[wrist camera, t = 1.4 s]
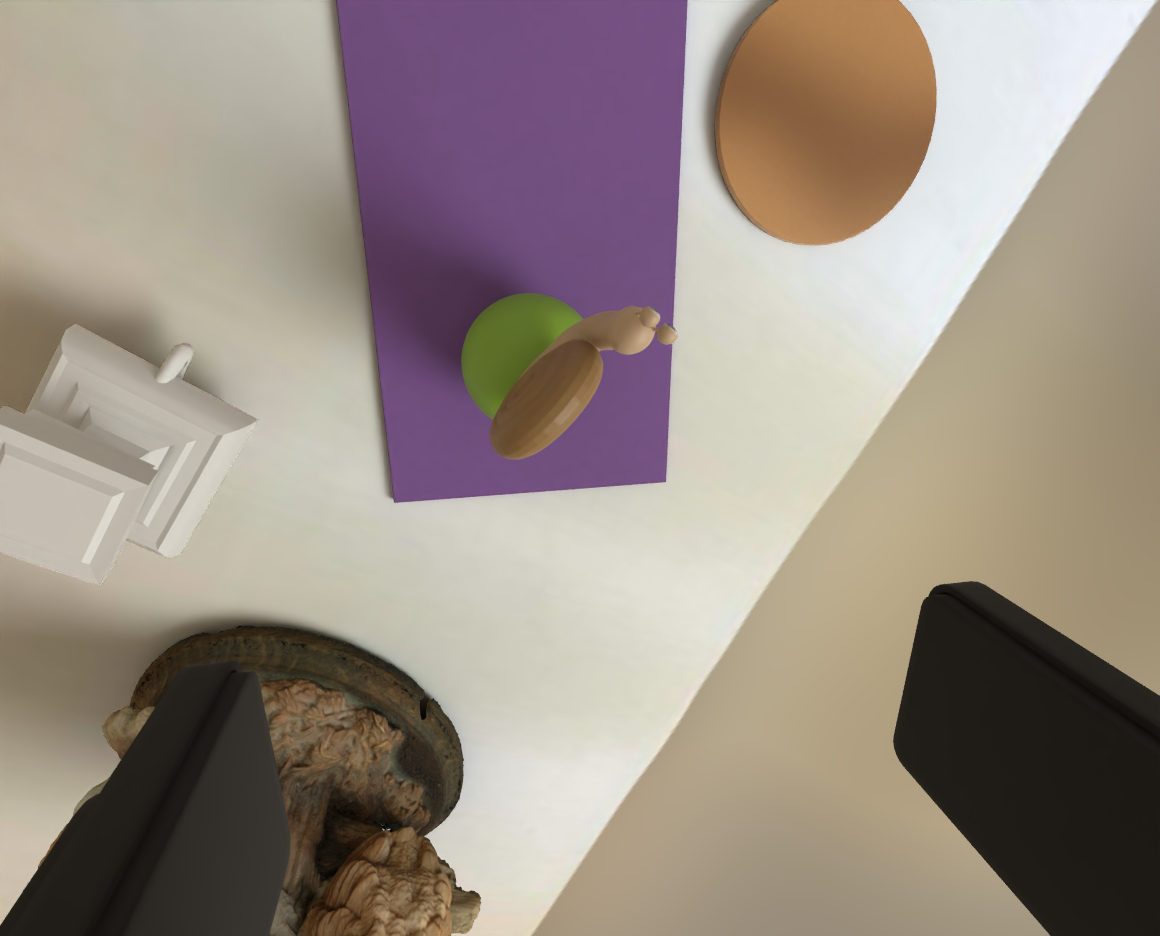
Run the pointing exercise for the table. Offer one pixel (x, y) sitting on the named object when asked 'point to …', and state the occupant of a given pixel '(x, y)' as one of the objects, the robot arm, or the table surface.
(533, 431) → the snail figurine
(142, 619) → the table surface
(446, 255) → the cloth
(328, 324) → the table surface
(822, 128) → the coaster
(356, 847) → the owl figurine
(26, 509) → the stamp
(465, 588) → the table surface
